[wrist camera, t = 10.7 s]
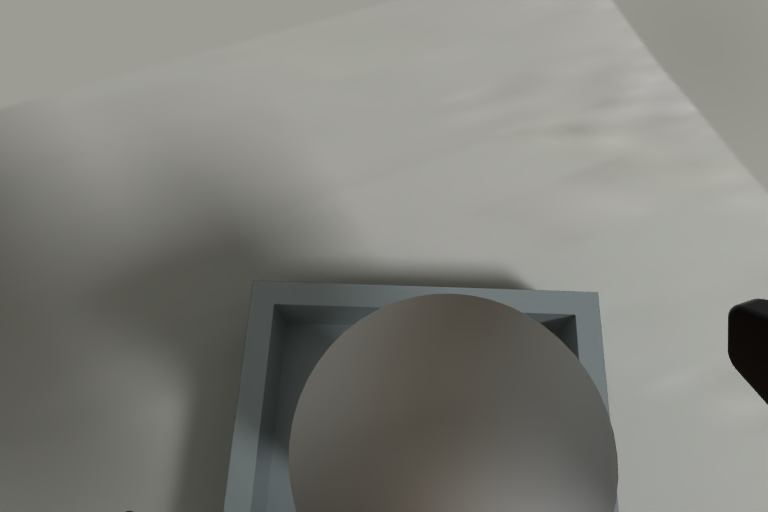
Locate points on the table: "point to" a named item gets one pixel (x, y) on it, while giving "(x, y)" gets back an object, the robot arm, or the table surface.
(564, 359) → the wooden dome-topped cylinder
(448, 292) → the slate tray
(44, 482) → the table surface
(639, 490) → the table surface
